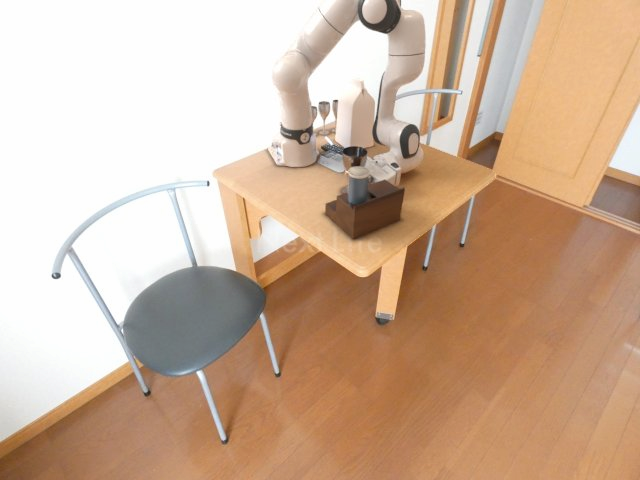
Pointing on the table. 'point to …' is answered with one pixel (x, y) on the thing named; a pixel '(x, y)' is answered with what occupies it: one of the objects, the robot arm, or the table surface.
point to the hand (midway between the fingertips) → (351, 177)
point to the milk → (355, 116)
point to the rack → (367, 209)
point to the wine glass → (354, 159)
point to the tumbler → (357, 184)
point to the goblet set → (325, 113)
